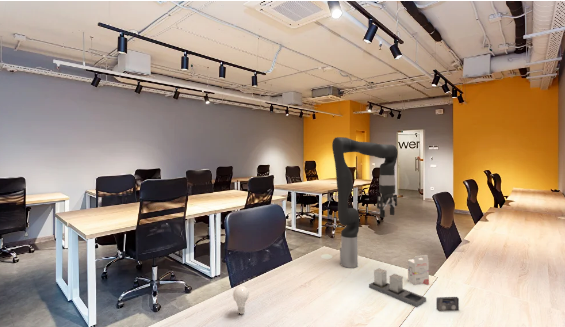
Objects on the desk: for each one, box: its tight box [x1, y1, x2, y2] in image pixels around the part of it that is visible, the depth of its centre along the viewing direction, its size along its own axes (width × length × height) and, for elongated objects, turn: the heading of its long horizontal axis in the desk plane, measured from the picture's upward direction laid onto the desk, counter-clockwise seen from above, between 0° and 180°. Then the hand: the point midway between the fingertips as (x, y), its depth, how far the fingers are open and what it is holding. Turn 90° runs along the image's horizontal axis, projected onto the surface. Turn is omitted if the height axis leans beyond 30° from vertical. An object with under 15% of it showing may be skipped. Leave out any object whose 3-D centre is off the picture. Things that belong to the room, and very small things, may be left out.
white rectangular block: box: [373, 268, 388, 288], centre depth 133 cm, size 4×4×8 cm
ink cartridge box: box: [407, 254, 430, 286], centre depth 138 cm, size 9×5×15 cm, turn 105°
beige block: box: [388, 273, 404, 295], centre depth 126 cm, size 4×4×8 cm
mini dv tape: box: [435, 296, 460, 312], centre depth 113 cm, size 8×2×6 cm, turn 92°
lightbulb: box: [232, 285, 250, 315], centre depth 113 cm, size 6×6×11 cm
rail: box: [368, 281, 427, 308], centre depth 126 cm, size 23×8×2 cm, turn 37°
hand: (387, 216), depth 141 cm, fingers open, 8 cm apart
